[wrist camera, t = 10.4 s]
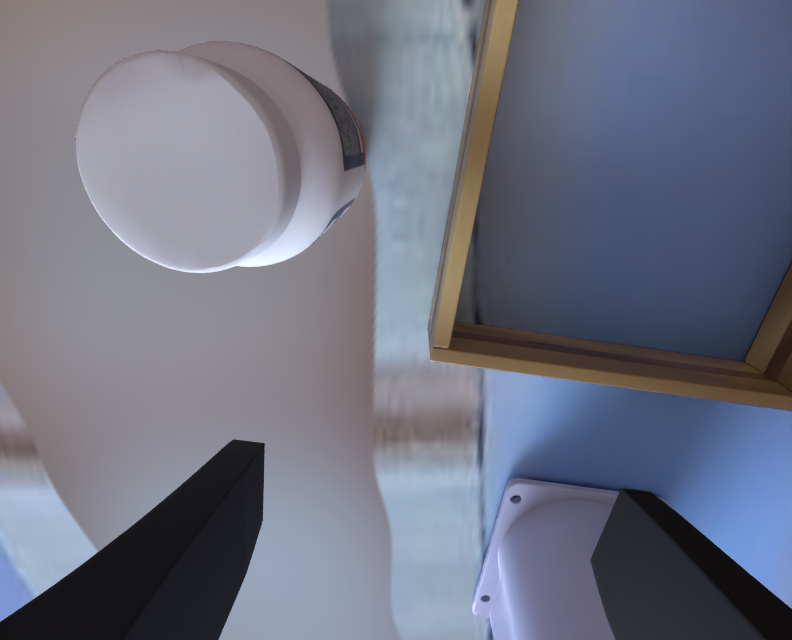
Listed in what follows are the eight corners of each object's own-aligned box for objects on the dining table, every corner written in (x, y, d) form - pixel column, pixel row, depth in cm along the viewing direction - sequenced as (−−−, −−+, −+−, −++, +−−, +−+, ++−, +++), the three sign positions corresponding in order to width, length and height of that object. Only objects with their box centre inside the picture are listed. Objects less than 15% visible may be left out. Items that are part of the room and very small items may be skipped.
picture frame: (751, 375, 19) (809, 414, 16) (426, 330, 19) (429, 362, 16) (947, -20, 14) (1083, -63, 11) (500, -89, 14) (523, -151, 11)
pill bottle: (241, 56, 15) (37, -53, 7) (384, 106, 16) (352, 58, 7) (218, 205, 17) (35, 257, 9) (346, 246, 18) (286, 332, 9)
